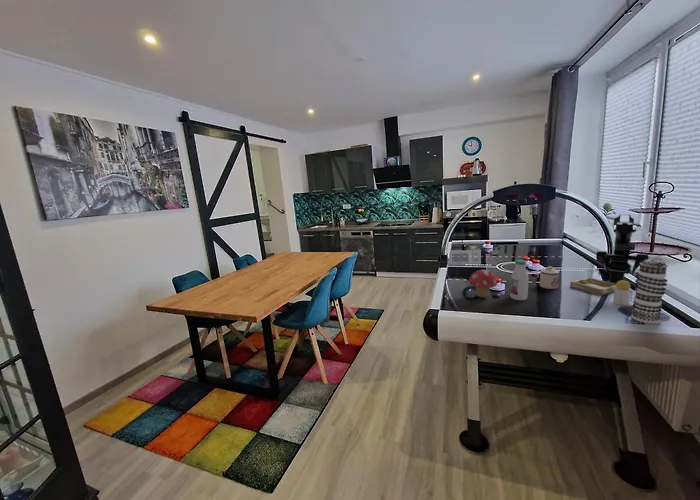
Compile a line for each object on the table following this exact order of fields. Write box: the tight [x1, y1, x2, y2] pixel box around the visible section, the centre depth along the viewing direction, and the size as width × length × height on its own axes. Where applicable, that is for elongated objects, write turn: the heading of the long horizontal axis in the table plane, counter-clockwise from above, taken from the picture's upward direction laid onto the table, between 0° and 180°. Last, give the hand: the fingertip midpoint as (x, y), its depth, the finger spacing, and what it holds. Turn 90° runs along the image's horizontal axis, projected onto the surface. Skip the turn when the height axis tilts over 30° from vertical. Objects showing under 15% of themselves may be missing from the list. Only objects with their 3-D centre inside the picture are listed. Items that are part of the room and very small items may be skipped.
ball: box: [616, 279, 631, 290], centre depth 137 cm, size 5×5×5 cm
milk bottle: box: [509, 259, 529, 301], centre depth 151 cm, size 8×8×20 cm
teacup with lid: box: [539, 265, 560, 290], centre depth 165 cm, size 12×9×12 cm
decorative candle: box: [630, 258, 669, 324], centre depth 120 cm, size 9×9×25 cm
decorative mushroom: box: [468, 269, 498, 299], centre depth 155 cm, size 13×13×15 cm
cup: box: [612, 287, 631, 306], centre depth 138 cm, size 5×5×7 cm
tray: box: [569, 277, 616, 296], centre depth 158 cm, size 15×15×3 cm
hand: (619, 272), depth 143 cm, fingers open, 9 cm apart
